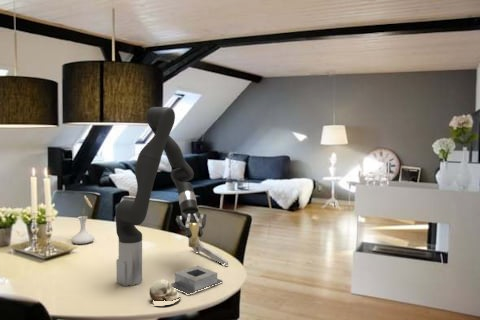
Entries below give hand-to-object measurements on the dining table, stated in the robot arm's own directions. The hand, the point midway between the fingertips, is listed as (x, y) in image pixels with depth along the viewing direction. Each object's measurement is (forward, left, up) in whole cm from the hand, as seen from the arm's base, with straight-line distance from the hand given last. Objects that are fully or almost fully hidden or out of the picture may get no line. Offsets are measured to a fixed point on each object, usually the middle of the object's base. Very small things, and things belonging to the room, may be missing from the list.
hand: (195, 236), depth 172 cm
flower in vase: (-11, +78, -17) cm, 80 cm away
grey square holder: (-6, -8, -17) cm, 20 cm away
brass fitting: (+1, +2, -5) cm, 5 cm away
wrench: (+19, +13, -17) cm, 29 cm away
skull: (-24, -11, -17) cm, 32 cm away
